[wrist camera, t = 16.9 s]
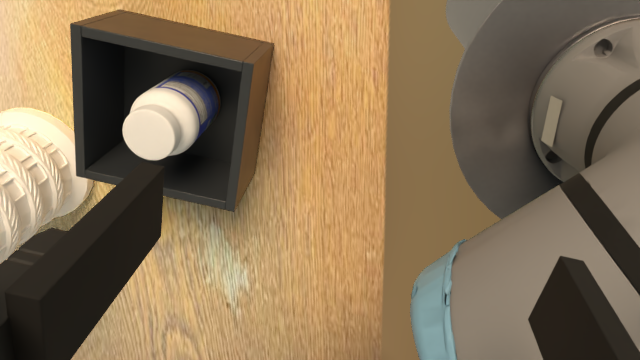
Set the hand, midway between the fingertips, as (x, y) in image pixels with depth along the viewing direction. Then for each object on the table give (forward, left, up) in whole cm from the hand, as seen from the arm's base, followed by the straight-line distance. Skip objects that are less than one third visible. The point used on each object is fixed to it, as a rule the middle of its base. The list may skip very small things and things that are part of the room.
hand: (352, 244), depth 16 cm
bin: (+15, +7, -29) cm, 33 cm away
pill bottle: (+15, +7, -28) cm, 33 cm away
